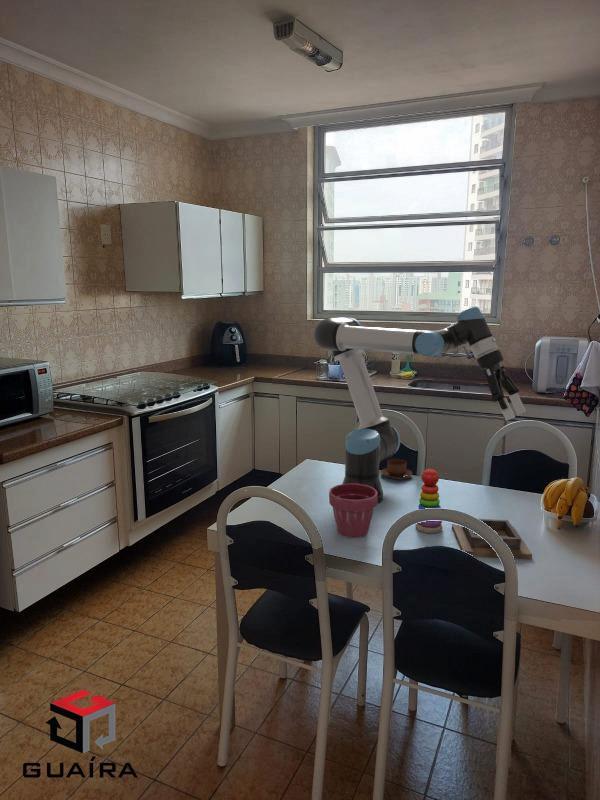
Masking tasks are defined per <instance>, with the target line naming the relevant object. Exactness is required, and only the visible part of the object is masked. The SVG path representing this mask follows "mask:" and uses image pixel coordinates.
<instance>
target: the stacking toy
mask: <svg viewBox="0 0 600 800" xmlns="http://www.w3.org/2000/svg"><path fill="white" fill-rule="evenodd" d="M439 480H440V477H439V473H438V472H437V471H436V470H435V469H434V468H433V469H432V468H428V469H425V470H424V471H423V472H422V473H421V481H422V485H421V487H420V489H421V492H420V494H419V496H420V497H419V498H418V501H419V502H418V503H419V504H418V510H419V509H425V508H441V504H440V502H441V500H440V499H439V497H440V494H439V486H438V485H437V483H439ZM441 509H442V508H441ZM442 522H443V520H442V521H426V522H421V523H417V524H416V523H415V528H416V530H418V531H420V532H421V533H425V534H430V535H432V534H438V533H440V532H441V531H442V530H443V523H442Z"/></svg>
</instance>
